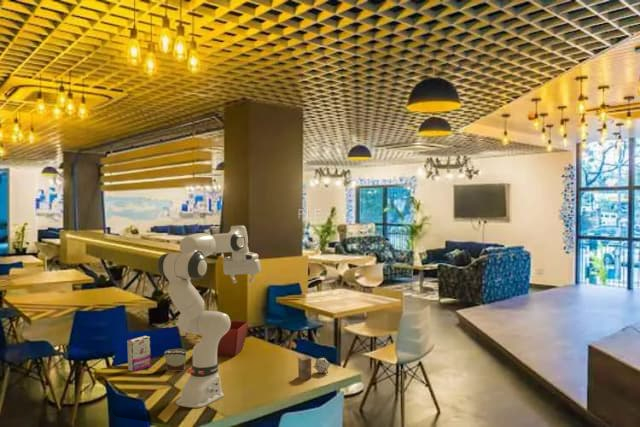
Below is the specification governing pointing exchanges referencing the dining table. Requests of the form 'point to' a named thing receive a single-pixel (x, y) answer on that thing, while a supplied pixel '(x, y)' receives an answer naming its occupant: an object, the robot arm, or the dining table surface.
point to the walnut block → (304, 367)
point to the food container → (175, 359)
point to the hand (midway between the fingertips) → (243, 282)
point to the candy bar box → (139, 353)
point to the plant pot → (233, 339)
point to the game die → (321, 365)
